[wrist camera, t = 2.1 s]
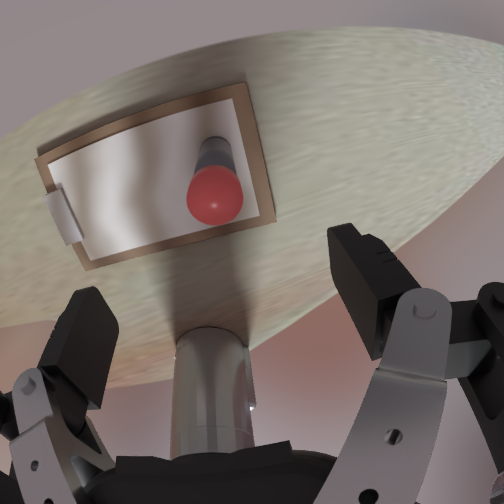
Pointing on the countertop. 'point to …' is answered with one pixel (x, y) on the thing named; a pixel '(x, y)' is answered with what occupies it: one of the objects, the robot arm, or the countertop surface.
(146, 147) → the clipboard
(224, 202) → the marker
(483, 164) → the countertop surface
